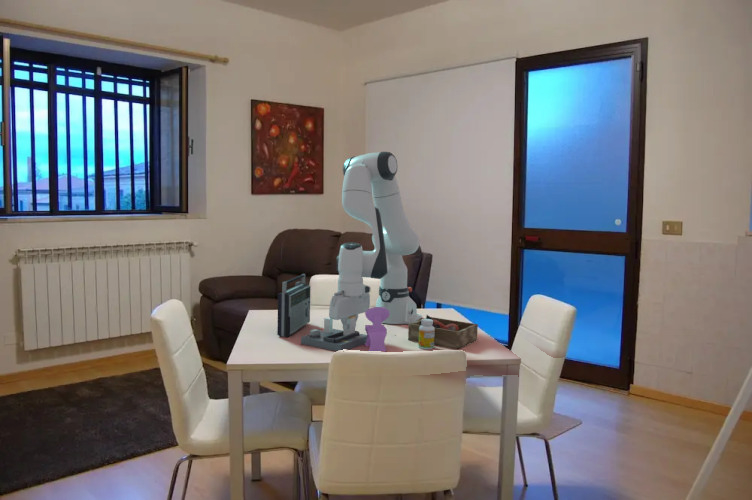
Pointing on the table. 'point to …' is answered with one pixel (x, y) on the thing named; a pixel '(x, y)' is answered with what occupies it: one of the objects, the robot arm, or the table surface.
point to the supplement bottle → (426, 334)
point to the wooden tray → (447, 333)
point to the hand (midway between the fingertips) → (349, 328)
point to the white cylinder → (350, 326)
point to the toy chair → (376, 328)
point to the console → (333, 338)
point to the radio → (293, 307)
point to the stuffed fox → (442, 326)
